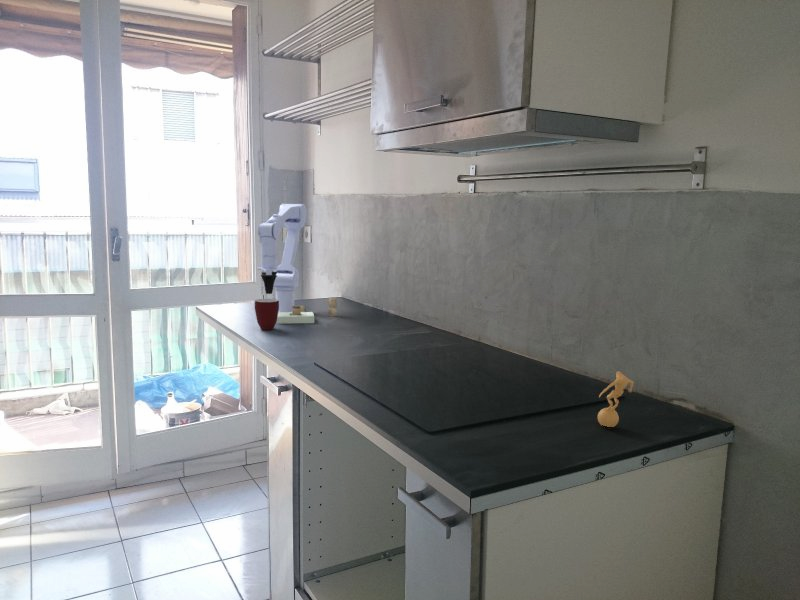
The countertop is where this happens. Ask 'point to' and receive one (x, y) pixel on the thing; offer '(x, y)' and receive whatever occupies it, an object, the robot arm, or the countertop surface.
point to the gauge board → (295, 317)
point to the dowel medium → (296, 310)
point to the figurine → (609, 414)
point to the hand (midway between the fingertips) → (269, 292)
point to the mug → (266, 313)
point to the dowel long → (332, 307)
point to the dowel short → (302, 308)
